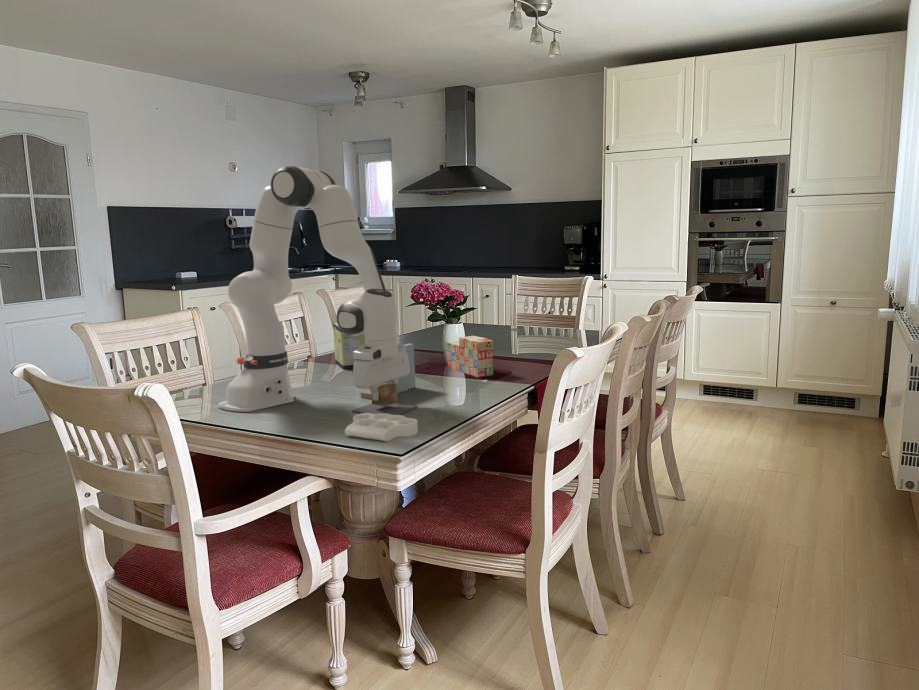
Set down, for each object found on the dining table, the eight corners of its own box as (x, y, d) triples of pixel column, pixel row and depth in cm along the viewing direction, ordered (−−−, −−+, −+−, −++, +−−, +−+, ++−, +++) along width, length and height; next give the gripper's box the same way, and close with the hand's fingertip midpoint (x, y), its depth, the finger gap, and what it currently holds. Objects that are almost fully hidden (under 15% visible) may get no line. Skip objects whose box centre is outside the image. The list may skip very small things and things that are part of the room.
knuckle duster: (334, 437, 166) (368, 421, 178) (396, 446, 157) (427, 429, 170) (333, 424, 165) (368, 409, 178) (395, 432, 157) (427, 416, 170)
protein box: (361, 359, 262) (359, 320, 260) (371, 367, 248) (369, 325, 245) (334, 362, 259) (332, 322, 256) (343, 370, 244) (340, 327, 242)
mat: (390, 418, 179) (390, 416, 179) (351, 412, 186) (351, 410, 186) (418, 408, 189) (417, 406, 188) (379, 402, 196) (379, 400, 196)
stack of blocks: (447, 367, 243) (445, 334, 241) (461, 365, 247) (460, 332, 244) (478, 377, 225) (477, 341, 223) (493, 375, 228) (493, 339, 226)
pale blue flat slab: (378, 400, 199) (376, 353, 196) (360, 397, 203) (358, 351, 200) (415, 387, 214) (413, 343, 211) (398, 385, 217) (396, 342, 215)
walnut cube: (386, 406, 184) (385, 387, 183) (372, 404, 186) (371, 386, 186) (397, 402, 188) (396, 384, 187) (383, 400, 190) (382, 382, 190)
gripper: (396, 341, 195) (398, 388, 197) (348, 353, 178) (351, 404, 180) (413, 343, 191) (415, 390, 194) (366, 355, 174) (368, 407, 177)
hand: (384, 397), depth 187 cm, fingers closed on walnut cube, 5 cm apart
